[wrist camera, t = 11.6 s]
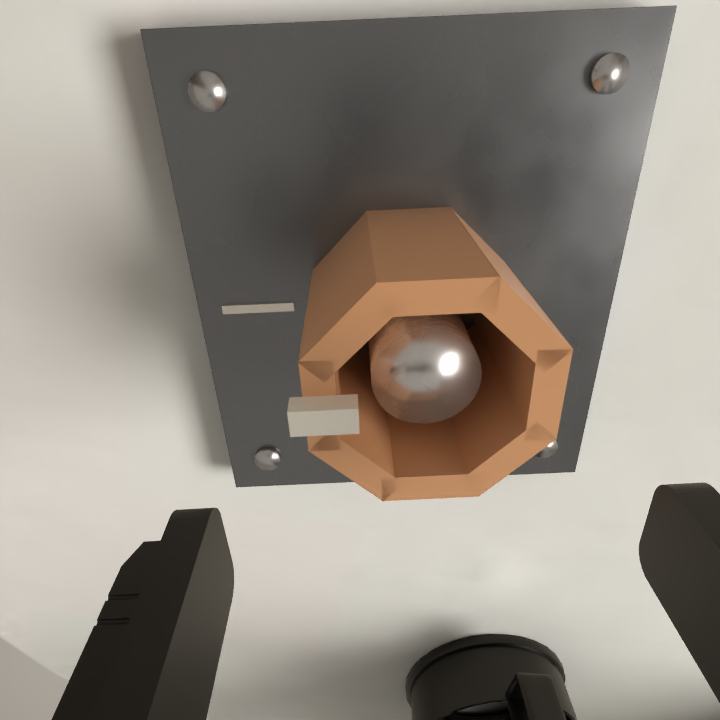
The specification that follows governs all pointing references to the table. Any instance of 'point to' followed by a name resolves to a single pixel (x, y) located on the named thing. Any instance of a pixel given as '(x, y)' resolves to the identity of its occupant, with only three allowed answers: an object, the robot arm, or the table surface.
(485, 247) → the octagonal hollow tube
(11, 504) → the table surface
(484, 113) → the plate
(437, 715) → the french press
